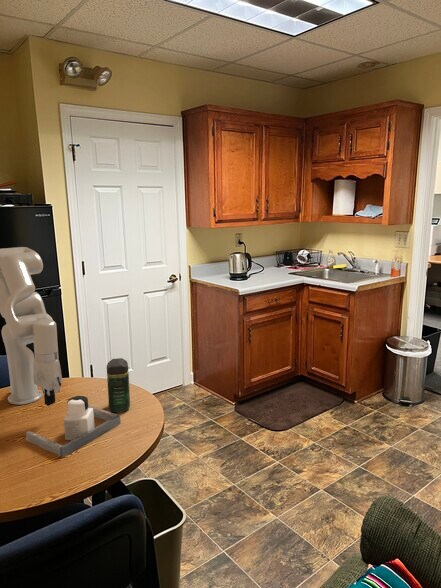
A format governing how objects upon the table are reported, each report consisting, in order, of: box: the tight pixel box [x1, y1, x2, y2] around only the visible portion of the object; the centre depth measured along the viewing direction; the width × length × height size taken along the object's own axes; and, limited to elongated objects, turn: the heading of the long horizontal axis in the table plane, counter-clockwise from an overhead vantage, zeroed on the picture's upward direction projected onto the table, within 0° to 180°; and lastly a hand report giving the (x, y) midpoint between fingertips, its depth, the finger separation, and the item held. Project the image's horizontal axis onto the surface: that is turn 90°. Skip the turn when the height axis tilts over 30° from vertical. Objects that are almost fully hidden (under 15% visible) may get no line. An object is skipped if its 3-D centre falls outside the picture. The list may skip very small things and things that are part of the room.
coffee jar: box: [106, 357, 131, 413], centre depth 167 cm, size 10×8×19 cm
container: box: [63, 395, 96, 441], centre depth 148 cm, size 8×8×13 cm
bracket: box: [25, 404, 122, 458], centre depth 151 cm, size 18×24×3 cm
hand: (50, 403), depth 157 cm, fingers closed
